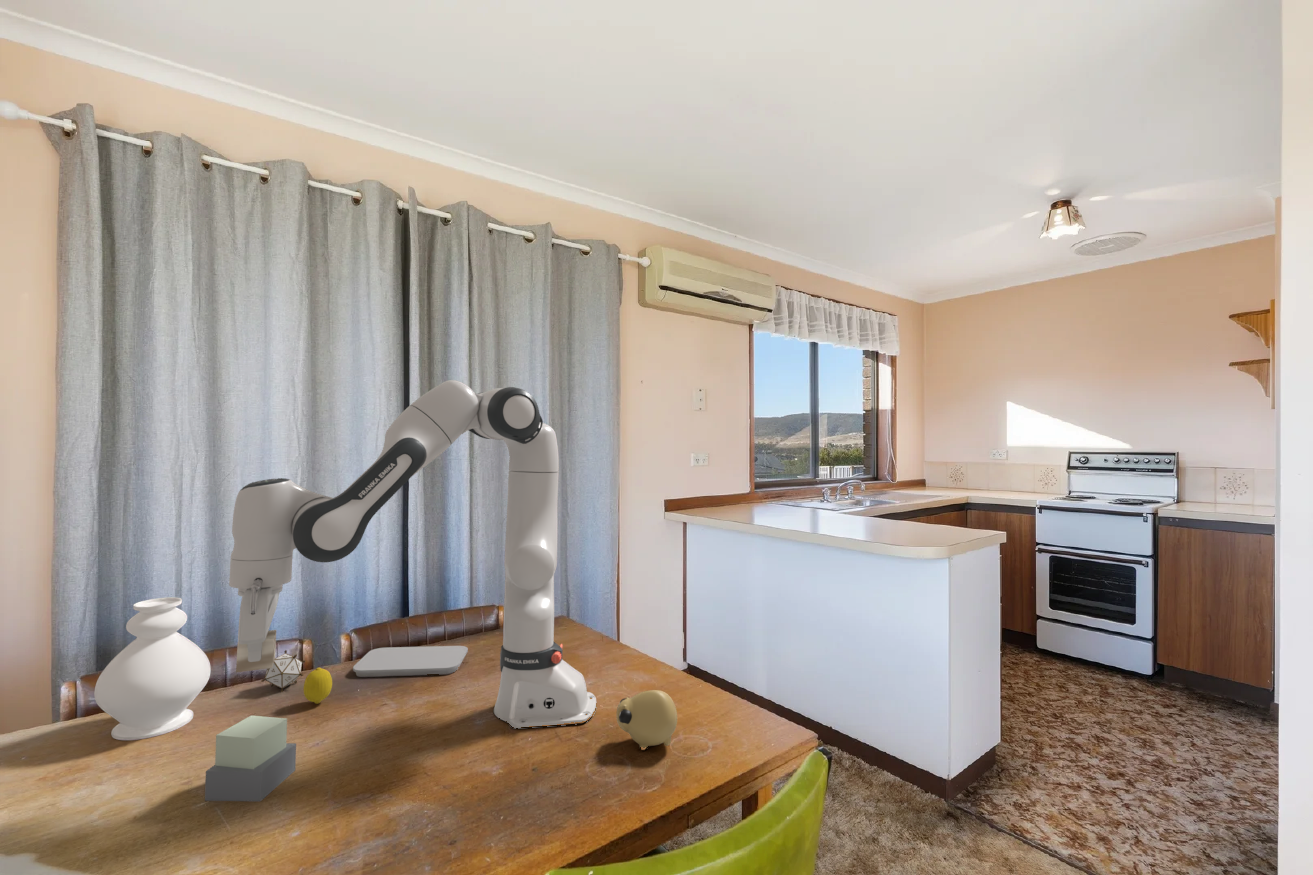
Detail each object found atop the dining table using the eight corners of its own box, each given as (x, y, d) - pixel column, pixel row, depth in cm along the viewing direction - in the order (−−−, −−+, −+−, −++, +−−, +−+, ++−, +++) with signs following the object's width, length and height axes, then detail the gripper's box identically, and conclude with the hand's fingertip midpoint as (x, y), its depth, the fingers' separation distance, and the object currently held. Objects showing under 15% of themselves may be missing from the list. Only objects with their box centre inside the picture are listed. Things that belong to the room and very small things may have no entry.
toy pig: (618, 731, 118) (619, 679, 118) (676, 732, 117) (677, 680, 118) (613, 756, 108) (614, 700, 108) (677, 758, 107) (678, 701, 108)
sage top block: (286, 747, 100) (287, 718, 100) (253, 769, 93) (254, 738, 93) (250, 743, 101) (251, 715, 101) (215, 765, 94) (216, 735, 94)
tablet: (457, 676, 145) (457, 667, 145) (348, 680, 141) (348, 670, 141) (469, 653, 161) (469, 645, 161) (372, 656, 157) (372, 647, 157)
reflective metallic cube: (272, 668, 97) (273, 638, 97) (236, 672, 94) (237, 642, 94) (275, 658, 101) (276, 629, 101) (240, 662, 98) (241, 633, 99)
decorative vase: (164, 701, 127) (168, 588, 127) (230, 710, 123) (234, 594, 124) (67, 741, 110) (72, 610, 110) (140, 753, 106) (145, 617, 106)
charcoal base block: (295, 771, 101) (296, 743, 101) (260, 803, 92) (261, 772, 92) (244, 770, 101) (245, 742, 101) (204, 802, 92) (205, 771, 92)
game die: (276, 707, 133) (247, 681, 128) (280, 681, 140) (253, 656, 135) (314, 685, 135) (287, 659, 130) (316, 660, 142) (291, 635, 137)
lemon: (337, 699, 130) (338, 663, 130) (320, 710, 124) (321, 673, 124) (314, 697, 130) (315, 662, 130) (296, 708, 125) (298, 671, 125)
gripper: (278, 584, 90) (273, 672, 90) (287, 561, 108) (283, 634, 108) (229, 588, 87) (224, 679, 87) (246, 563, 105) (242, 638, 105)
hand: (257, 654), depth 98 cm, fingers closed on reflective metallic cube, 5 cm apart
